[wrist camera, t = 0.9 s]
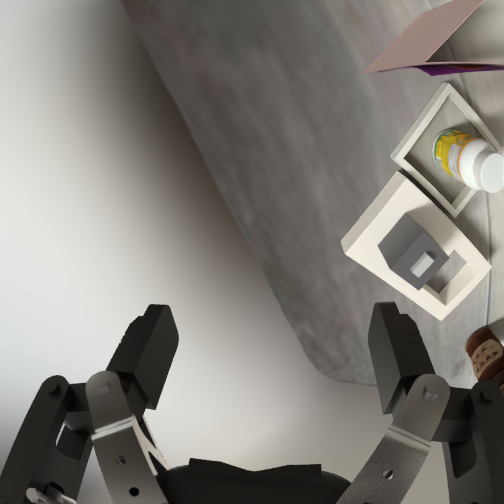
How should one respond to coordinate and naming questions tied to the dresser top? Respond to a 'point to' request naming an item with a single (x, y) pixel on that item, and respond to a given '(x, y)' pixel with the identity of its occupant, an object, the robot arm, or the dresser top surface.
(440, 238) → the white holder base
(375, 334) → the robot arm
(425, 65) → the greeting card
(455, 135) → the supplement bottle
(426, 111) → the tray
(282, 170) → the dresser top surface
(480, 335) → the coffee cup
